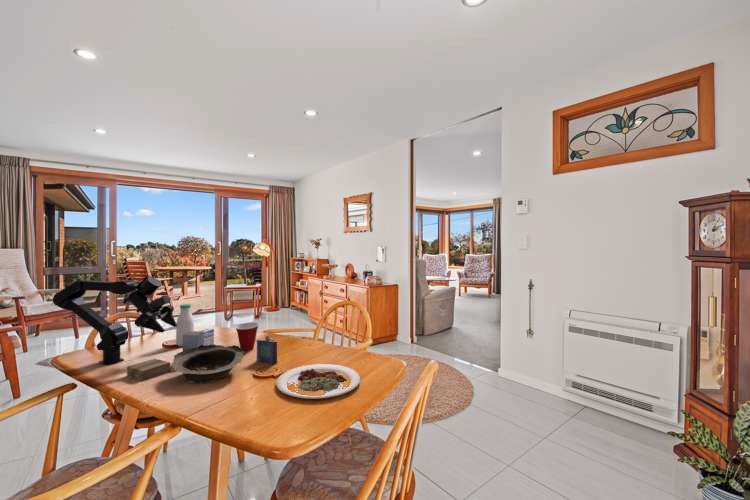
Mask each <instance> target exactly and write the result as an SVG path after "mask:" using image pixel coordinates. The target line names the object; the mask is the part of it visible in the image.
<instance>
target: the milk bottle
mask: <svg viewBox="0 0 750 500" xmlns="http://www.w3.org/2000/svg"><path fill="white" fill-rule="evenodd" d="M191 306H192V305H191V303H182V304H180V305H179V308H180V309H179V310H180V313H179V315H178V316H177V319H176V324H177V326H176V327H175V328H176V329H175V331H176V332H175V345H176V346H177V345H178V346H177V347H183V335H184V334H186V333H188V332H190V331H195V319H194V316H193V314H192V312H191V309H192V307H191Z"/></svg>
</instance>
